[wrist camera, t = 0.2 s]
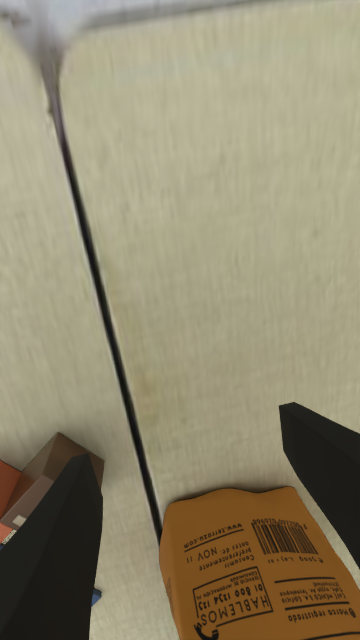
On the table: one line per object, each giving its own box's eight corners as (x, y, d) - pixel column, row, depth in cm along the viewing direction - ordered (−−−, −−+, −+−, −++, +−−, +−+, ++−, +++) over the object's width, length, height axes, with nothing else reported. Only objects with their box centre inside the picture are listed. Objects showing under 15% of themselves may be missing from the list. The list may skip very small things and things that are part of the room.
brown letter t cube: (104, 460, 23) (99, 508, 19) (69, 499, 23) (56, 553, 19) (57, 431, 22) (41, 475, 18) (21, 471, 22) (-3, 523, 18)
